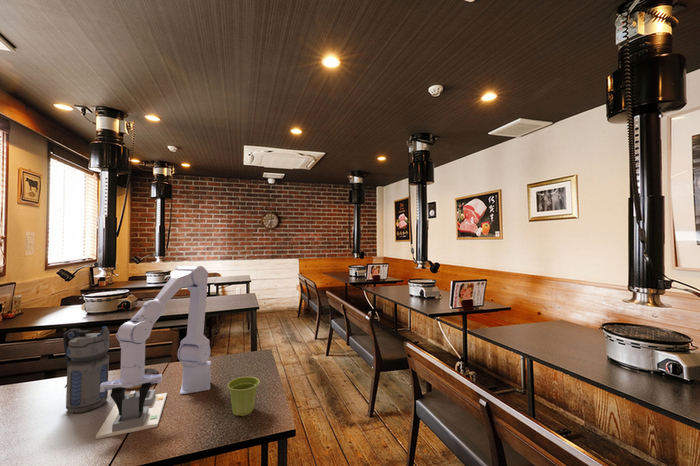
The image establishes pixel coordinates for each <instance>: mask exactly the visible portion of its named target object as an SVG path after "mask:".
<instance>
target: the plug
mask: <svg viewBox="0 0 700 466" xmlns="http://www.w3.org/2000/svg"><path fill="white" fill-rule="evenodd" d="M139 404H140V395H139V391H136V390H131V391H130V392H129V393H125V396H124V398H123V400H122V421H125V420H130V419H135V418H140V417H141V412H139Z"/></svg>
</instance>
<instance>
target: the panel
mask: <svg viewBox="0 0 700 466" xmlns="http://www.w3.org/2000/svg"><path fill="white" fill-rule="evenodd" d="M167 396H168V392H164V393H157V394H156V388H153V389H149V391H148V393H147V396H146V398H145V402H144V407H143V410H142V412H141V417H140V418H135V419H130V420H125V421H122V415H121V416H119V411H118V408H117V405H116V403H114V405H113V407H112V409H111V410H110V412H109V414H108V416H106V418H105V421H104V422H103V423H102V425H101V427H100V429H98V432H97V433H96V436H95V440H98V439H102V438H103V439H104V438H107V437H113V436H118V435H119V436H120V435H123V434H124V435H125V434H128V433H132V432H133V433H134V432H138V431H143V430H149V429H152V428H153V429H154V428H157V427H158V426H159V423H160V419H161V417H162V412H163V409H164V406H165V403H166V399H167Z"/></svg>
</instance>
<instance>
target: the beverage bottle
mask: <svg viewBox="0 0 700 466" xmlns="http://www.w3.org/2000/svg"><path fill="white" fill-rule="evenodd" d="M91 331H92V330H88V329H87V330H85V329H84V330H82V329H81V328H70V329H68V330H67V331H65V332H64V333H63V336H62V339H63V342H62V343H63V345H64V347H63V348H64V353H65V354H64V355H65V361H66V366H67V367H66V370H67V371H66V384H65V386H64V387H63V388H64V389H65V388H66V395H65V397H66V398H65V399H66V400H65V409H66V410H67V411H68V412H69V413H72V414H74V413H75V414H76V413H84V412H89V411H92V410H94V409H96V408H98V407H100V406H102V405H104V404H105V403H106V402H107V399H108V397H109V395H108V394H109V390H106V391H105V392H100V385H101V384H102V383H103V382H108V381H109V363H110V355H108V354H107V353H108V351H109V349H110V333H111V332H110V331H109V328H108V326H105V325H104V326H102V327H101V330H99V332H93V333H92V332H91ZM90 332H91V333H90Z"/></svg>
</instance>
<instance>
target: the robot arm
mask: <svg viewBox="0 0 700 466" xmlns="http://www.w3.org/2000/svg"><path fill="white" fill-rule="evenodd" d="M208 277H209V271H208V270H207V269H206V268H205V267H204V266H202V265H198V266H197V265H178V266H176V267H175V268H174V269H173V271H171V272H170V277H169V279H168V280H167V282H166V283H165V284H164V286H163V287H162V288H161V290H160V291H159V293H158V294H157V295H156V296H155V298H154V299H149V300H147V301H145V302H144V303H143V304H142V307H141V308H140V309H139V310H138V311H137V312H136V313H135V315H133V316H132V317H131V319H130V320H127V322H124V323H123V324H122V325H120V326H119V328H118V330H117V332H116V333H115V337H116V339H117V341H118V342H119V347H120V374H119V375H120V376H119V377H120V378H117V379H114V380H110V381H109V380H108V382H103V383H102V384H101V385H100V392H105V391H106V390H108V391H110V392H111V393H110V394H109V395H110V397H111V399H112V401H114V404H116V405H117V408H118V411H119V416H121V415H122V400H123V398H124V396H125V394H126V389H125V388H130V387H133V386H139V385H141V387H140V388H138V392H139V395H140V404H139V412H142V410H143V407H144V402H145V398H146V396H147V393H148V391H149V390H151V389H150V388H151V387H152V385H153V384H162V382H163V373H159V374H158V375H144V372H145V368H146V367H145V366H146V365H145V364H146V361H145V360H146V341H147V340H148V339H149V338H150V337H151V334H152V329H153V328H154V324H155V323H156V322H157V320H158V319H159V318H160V317H161V316H162V315H163V313H164V312H165V305H166V304H168V302H169V301H170V300H171V299H172V298H173V297H174V296H175V295H176V294H177V292H178V291H179V290H180V289H182V288H186V289H187V290H188V291H189V293H190V295H189V307H188V316H187V317H188V318H187V329H186V336H185V337H184V338H183V339H181V340H180V345H179V347H178V350H177V359H178V360H179V362H180V365H182V373H181V374H182V381H181V382H182V383H181V387H180V391H179V395H186V394H192V393H198V392H199V393H200V392H204V391H209V390H211V382H212V376H211V374H212V371H211V368H212V367H211V366H212V365H211V364H212V361H211V360H209V358H210V356H211V352H212V351H211V347H210V342H211V341H210V339H208V338H207V337H206V335H205V334H204V333H205V332H204V330H205V320H206V318H205V317H206V307H207V296H208V295H207V294H208Z"/></svg>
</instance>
